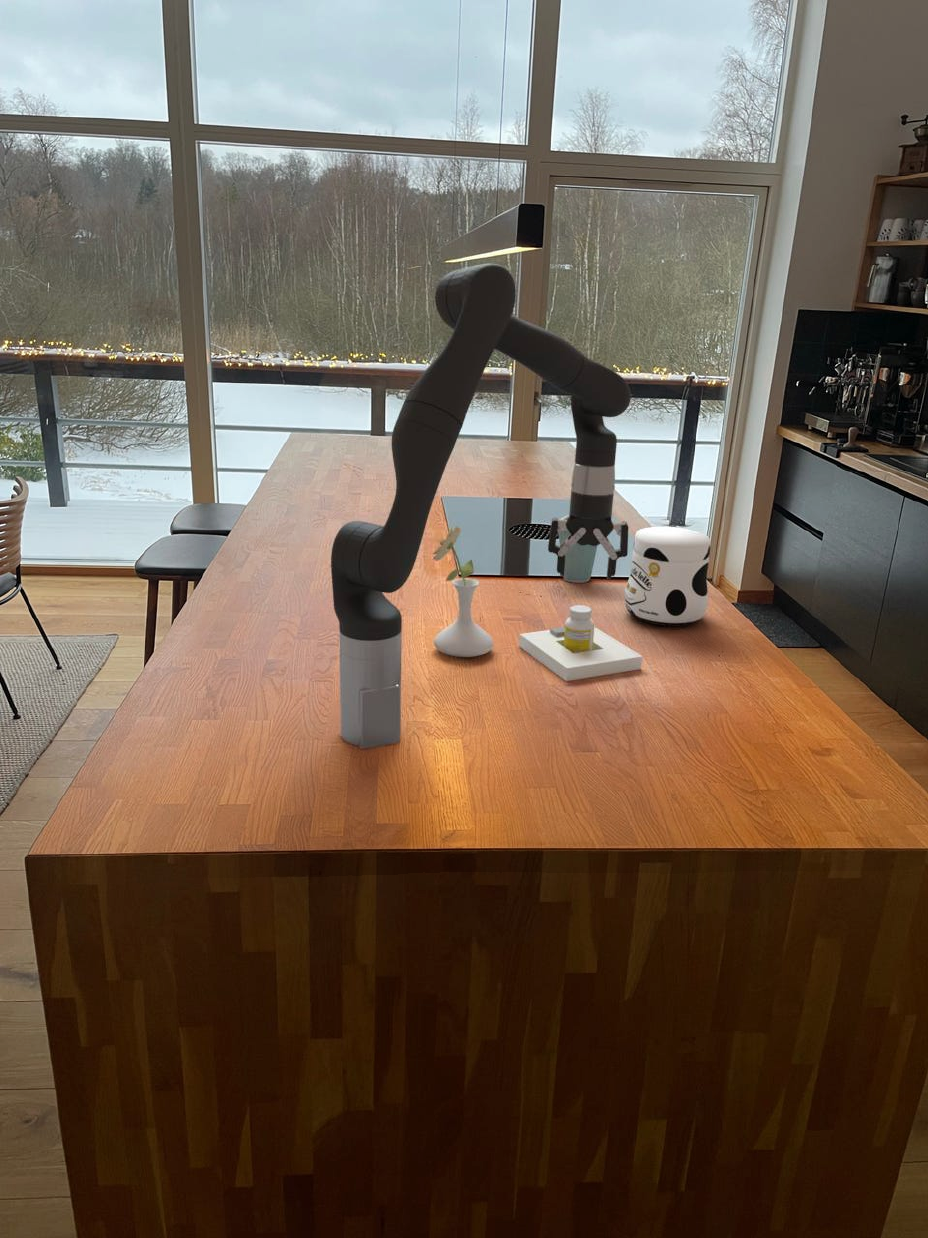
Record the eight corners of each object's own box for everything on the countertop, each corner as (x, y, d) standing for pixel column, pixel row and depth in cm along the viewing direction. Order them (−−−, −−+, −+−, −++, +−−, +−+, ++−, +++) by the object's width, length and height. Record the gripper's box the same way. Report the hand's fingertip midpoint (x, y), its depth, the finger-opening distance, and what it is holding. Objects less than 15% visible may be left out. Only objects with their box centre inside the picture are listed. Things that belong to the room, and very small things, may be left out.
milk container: (606, 616, 201) (614, 534, 195) (651, 599, 213) (659, 521, 207) (678, 638, 190) (688, 552, 184) (720, 618, 202) (731, 537, 196)
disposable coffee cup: (576, 588, 219) (581, 525, 213) (543, 577, 226) (547, 516, 221) (607, 580, 225) (612, 519, 220) (573, 569, 233) (578, 510, 228)
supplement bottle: (573, 649, 183) (576, 601, 179) (597, 657, 179) (601, 608, 176) (557, 657, 179) (560, 608, 175) (581, 665, 175) (585, 615, 172)
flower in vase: (463, 636, 188) (468, 512, 179) (505, 652, 180) (512, 524, 172) (414, 652, 179) (416, 523, 170) (456, 670, 171) (460, 536, 163)
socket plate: (641, 669, 175) (642, 652, 173) (565, 681, 168) (567, 664, 167) (589, 635, 190) (590, 620, 189) (518, 646, 183) (519, 630, 182)
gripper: (631, 487, 171) (623, 573, 176) (552, 482, 172) (546, 568, 178) (634, 495, 164) (625, 585, 169) (552, 491, 165) (546, 579, 170)
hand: (585, 576), depth 173 cm, fingers open, 8 cm apart
